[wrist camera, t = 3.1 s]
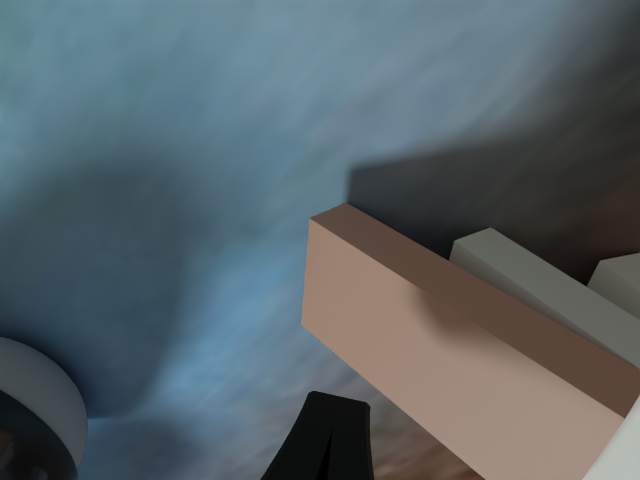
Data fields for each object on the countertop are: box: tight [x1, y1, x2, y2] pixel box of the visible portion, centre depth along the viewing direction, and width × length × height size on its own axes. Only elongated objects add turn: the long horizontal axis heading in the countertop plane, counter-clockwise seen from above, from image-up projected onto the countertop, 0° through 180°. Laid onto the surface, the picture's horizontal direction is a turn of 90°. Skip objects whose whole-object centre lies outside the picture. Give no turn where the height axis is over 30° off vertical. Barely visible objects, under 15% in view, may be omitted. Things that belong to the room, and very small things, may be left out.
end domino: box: [301, 203, 640, 480], centre depth 13 cm, size 2×4×9 cm
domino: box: [449, 227, 640, 480], centre depth 13 cm, size 2×4×9 cm
